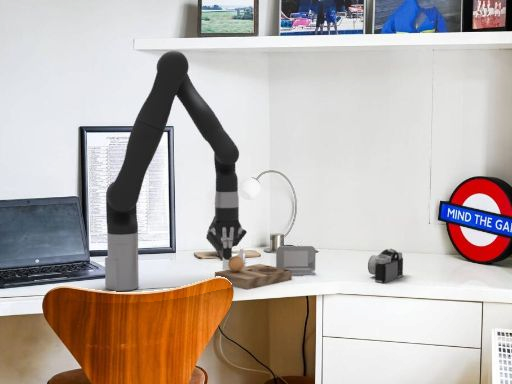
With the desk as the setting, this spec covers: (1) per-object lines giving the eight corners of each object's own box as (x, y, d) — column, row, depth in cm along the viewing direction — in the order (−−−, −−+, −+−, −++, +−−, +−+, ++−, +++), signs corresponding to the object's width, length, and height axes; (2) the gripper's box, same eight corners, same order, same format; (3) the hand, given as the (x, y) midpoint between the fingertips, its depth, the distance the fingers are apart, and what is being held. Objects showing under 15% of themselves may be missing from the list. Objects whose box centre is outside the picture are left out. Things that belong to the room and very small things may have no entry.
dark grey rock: (243, 254, 263) (243, 208, 262) (243, 261, 248) (243, 213, 246) (207, 254, 263) (207, 208, 261) (204, 261, 248) (204, 213, 246)
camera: (384, 272, 230) (385, 243, 229) (408, 276, 224) (409, 246, 223) (360, 279, 218) (361, 249, 217) (385, 283, 212) (386, 252, 211)
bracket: (242, 270, 234) (242, 248, 233) (222, 270, 234) (222, 248, 233) (245, 263, 247) (245, 242, 246) (226, 262, 247) (226, 242, 246)
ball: (235, 273, 212) (235, 258, 211) (224, 271, 215) (224, 256, 215) (246, 271, 215) (246, 256, 215) (236, 269, 219) (236, 254, 218)
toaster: (312, 270, 233) (312, 242, 232) (315, 276, 224) (315, 246, 223) (274, 270, 233) (274, 242, 232) (276, 276, 223) (276, 246, 223)
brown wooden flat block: (246, 289, 204) (246, 279, 204) (214, 281, 215) (214, 272, 214) (291, 279, 218) (291, 270, 217) (259, 272, 228) (259, 263, 228)
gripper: (208, 207, 208) (208, 262, 209) (249, 206, 211) (249, 260, 212) (204, 204, 215) (204, 258, 216) (244, 203, 218) (244, 256, 219)
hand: (227, 259), depth 214 cm, fingers closed
